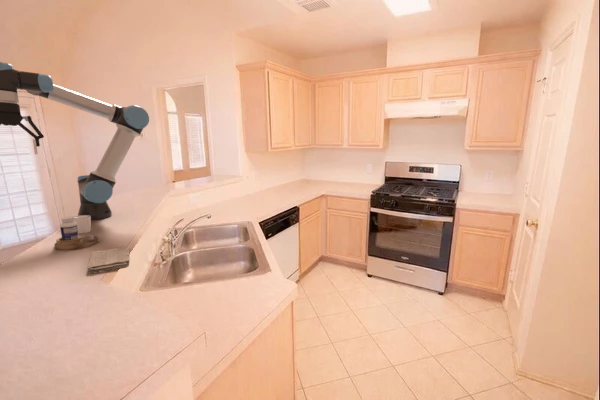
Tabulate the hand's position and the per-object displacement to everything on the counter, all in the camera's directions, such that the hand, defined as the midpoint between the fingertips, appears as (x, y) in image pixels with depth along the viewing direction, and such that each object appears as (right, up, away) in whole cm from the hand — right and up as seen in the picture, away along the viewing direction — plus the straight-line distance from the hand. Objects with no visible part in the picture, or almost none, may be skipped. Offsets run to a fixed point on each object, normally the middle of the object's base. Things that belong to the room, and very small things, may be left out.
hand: (14, 154), depth 123 cm
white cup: (+22, -34, +9) cm, 42 cm away
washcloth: (+56, -42, -23) cm, 74 cm away
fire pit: (+33, -38, -7) cm, 50 cm away
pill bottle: (+30, -36, -7) cm, 48 cm away
